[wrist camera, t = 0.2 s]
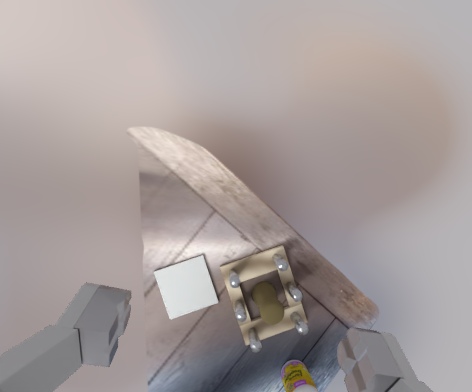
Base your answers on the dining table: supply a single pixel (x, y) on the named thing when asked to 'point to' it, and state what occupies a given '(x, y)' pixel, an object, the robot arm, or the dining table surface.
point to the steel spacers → (290, 288)
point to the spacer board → (254, 268)
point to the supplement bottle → (297, 377)
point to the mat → (186, 287)
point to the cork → (268, 303)
